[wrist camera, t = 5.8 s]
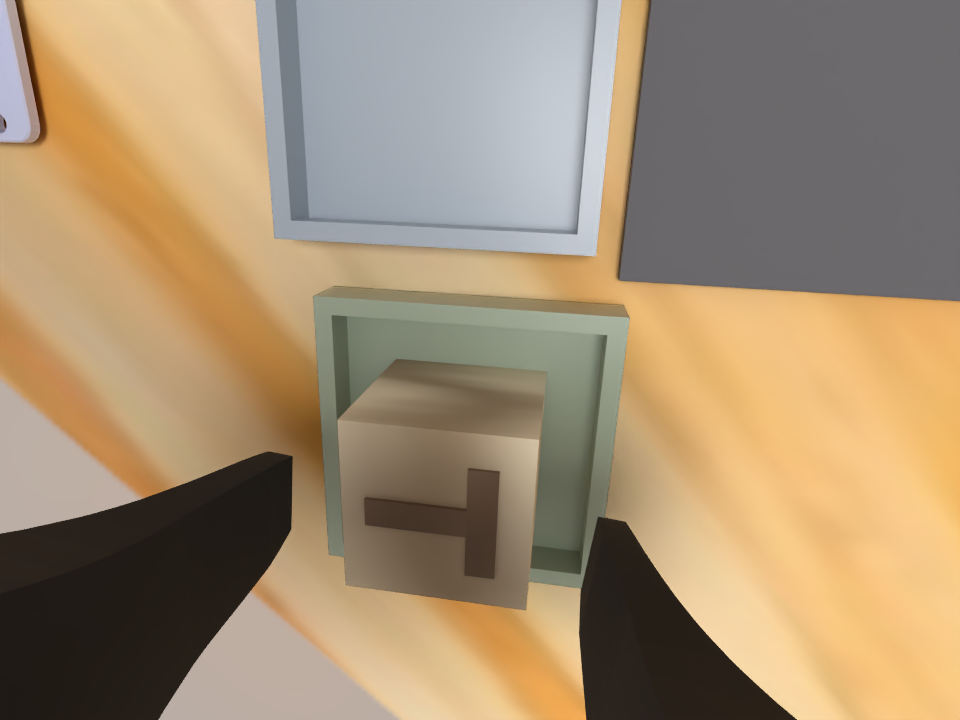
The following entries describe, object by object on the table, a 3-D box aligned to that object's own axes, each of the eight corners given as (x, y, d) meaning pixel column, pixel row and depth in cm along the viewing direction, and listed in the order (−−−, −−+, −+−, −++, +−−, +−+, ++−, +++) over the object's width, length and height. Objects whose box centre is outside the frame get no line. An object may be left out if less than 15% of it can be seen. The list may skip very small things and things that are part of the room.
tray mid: (300, 233, 16) (275, 238, 15) (276, -120, 14) (242, -155, 12) (593, 249, 15) (595, 256, 14) (630, -133, 12) (638, -172, 11)
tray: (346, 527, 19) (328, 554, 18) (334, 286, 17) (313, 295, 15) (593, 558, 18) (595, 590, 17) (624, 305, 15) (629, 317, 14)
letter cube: (398, 489, 18) (344, 587, 14) (396, 358, 17) (335, 421, 12) (536, 505, 17) (525, 613, 13) (546, 371, 16) (538, 441, 12)
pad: (618, 277, 15) (619, 280, 15) (670, -176, 12) (673, -187, 12) (1022, 302, 14) (1034, 305, 14) (1199, -201, 11) (1221, -214, 10)
